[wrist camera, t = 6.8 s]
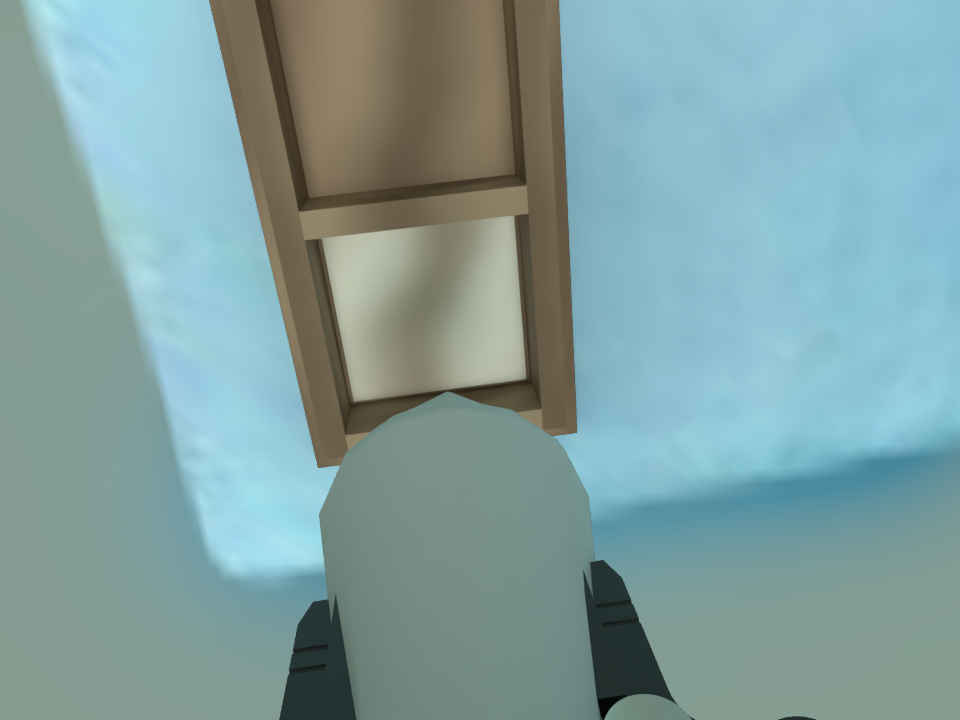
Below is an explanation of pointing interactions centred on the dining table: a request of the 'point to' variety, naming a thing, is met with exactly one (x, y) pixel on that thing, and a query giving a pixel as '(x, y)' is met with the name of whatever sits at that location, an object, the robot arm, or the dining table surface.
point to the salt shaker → (461, 568)
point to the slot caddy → (410, 202)
